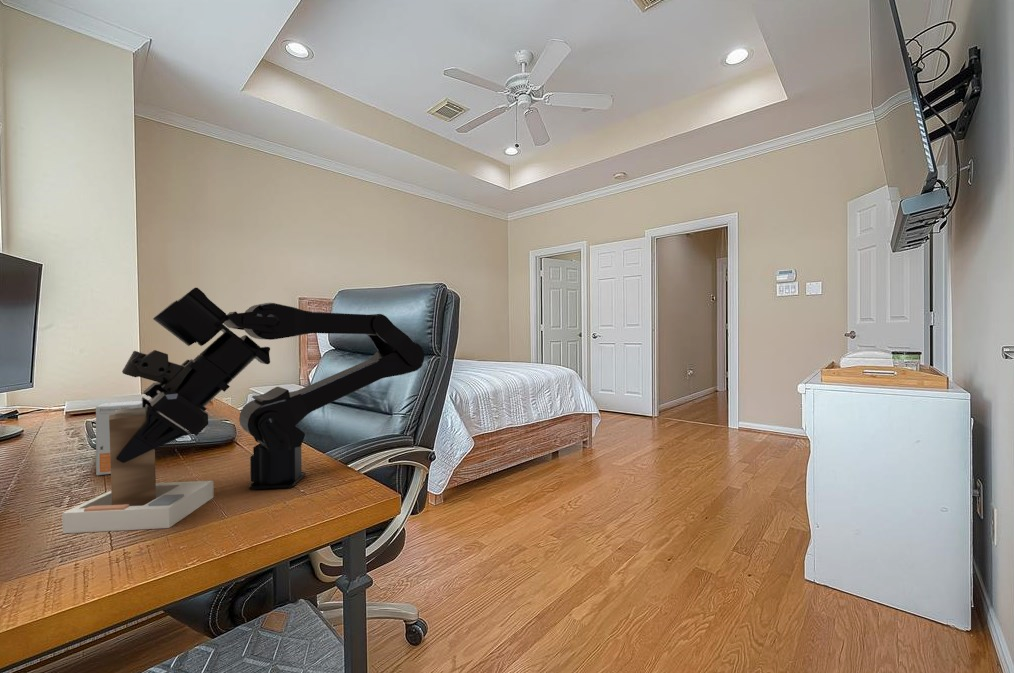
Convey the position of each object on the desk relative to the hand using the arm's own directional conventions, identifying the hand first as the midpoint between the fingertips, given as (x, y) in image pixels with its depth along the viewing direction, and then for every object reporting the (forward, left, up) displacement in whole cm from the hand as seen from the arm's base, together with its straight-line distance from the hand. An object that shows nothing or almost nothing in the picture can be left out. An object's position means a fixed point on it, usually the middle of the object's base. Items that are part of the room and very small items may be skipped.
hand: (119, 456), depth 58 cm
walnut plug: (-1, -1, -7) cm, 7 cm away
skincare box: (+14, -21, -8) cm, 27 cm away
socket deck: (-3, -1, -8) cm, 8 cm away
